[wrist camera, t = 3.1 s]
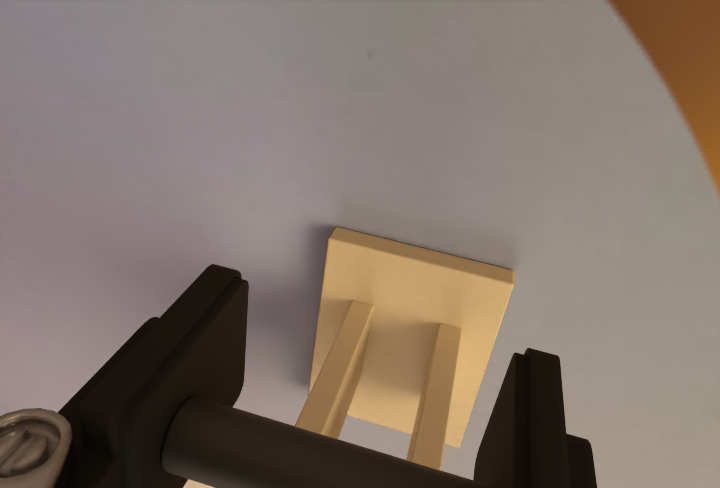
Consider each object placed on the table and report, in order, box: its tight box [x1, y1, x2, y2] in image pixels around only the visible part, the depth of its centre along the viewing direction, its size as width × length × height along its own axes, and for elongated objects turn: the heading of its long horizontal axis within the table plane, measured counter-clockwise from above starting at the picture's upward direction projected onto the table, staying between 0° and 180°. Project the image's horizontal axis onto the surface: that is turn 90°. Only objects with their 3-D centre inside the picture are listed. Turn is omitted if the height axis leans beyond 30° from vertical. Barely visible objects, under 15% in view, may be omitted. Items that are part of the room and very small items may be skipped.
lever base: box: [295, 227, 514, 471], centre depth 22 cm, size 10×8×13 cm
